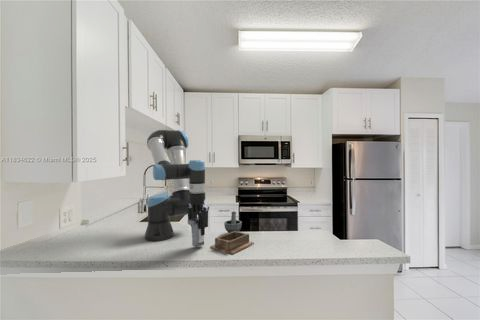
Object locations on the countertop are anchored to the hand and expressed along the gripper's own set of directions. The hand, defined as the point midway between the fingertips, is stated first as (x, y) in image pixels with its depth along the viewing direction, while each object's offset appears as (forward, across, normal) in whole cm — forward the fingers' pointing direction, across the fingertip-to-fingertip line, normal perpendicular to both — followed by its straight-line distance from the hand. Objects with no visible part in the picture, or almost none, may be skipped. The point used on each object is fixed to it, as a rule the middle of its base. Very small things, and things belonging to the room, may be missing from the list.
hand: (198, 240), depth 116 cm
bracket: (+2, 0, 0) cm, 2 cm away
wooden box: (+3, +12, +11) cm, 17 cm away
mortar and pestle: (+4, 0, +26) cm, 26 cm away
